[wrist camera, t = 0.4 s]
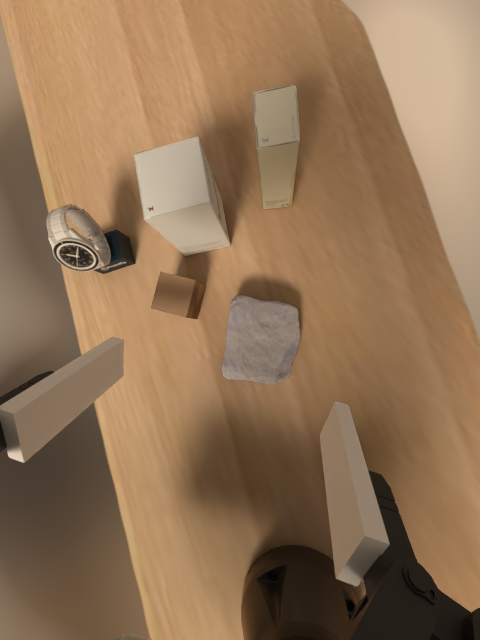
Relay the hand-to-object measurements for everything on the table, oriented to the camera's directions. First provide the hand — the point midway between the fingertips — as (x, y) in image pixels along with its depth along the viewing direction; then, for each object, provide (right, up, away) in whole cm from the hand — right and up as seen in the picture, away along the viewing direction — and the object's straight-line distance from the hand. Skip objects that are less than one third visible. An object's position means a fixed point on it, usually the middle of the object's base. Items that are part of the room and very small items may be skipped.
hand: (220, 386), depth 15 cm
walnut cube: (-7, +7, +22) cm, 25 cm away
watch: (-18, +14, +24) cm, 34 cm away
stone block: (+5, +1, +21) cm, 22 cm away
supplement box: (-4, +18, +23) cm, 29 cm away
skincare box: (+6, +23, +22) cm, 32 cm away
